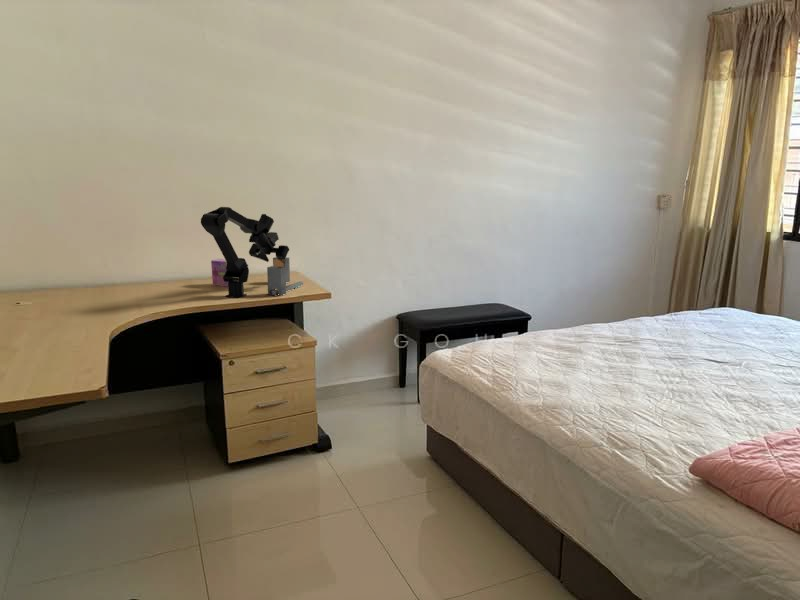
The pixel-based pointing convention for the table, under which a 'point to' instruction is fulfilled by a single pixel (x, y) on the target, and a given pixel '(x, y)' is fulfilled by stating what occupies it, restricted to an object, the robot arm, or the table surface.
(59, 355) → the table surface
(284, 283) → the tall grey block
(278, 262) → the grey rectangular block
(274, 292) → the rail
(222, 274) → the box
